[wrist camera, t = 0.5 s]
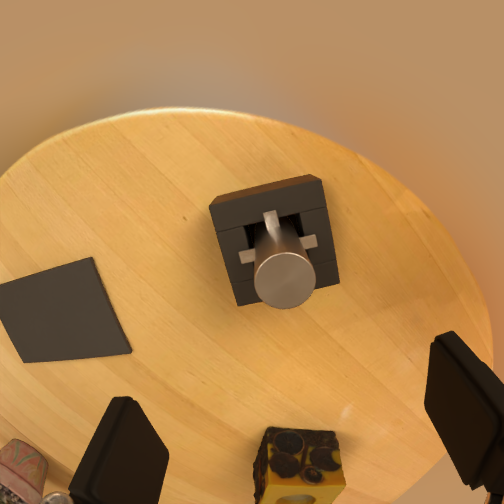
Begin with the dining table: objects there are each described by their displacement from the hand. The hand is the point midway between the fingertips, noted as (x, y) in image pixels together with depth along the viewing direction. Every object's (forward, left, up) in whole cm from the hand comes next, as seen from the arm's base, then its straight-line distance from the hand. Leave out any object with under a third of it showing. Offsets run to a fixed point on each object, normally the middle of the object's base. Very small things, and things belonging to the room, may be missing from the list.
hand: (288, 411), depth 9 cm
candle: (+32, -3, -22) cm, 39 cm away
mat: (+4, -28, -22) cm, 36 cm away
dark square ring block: (0, +1, -22) cm, 22 cm away
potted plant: (+34, -60, -22) cm, 73 cm away
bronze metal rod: (0, +1, -22) cm, 22 cm away
